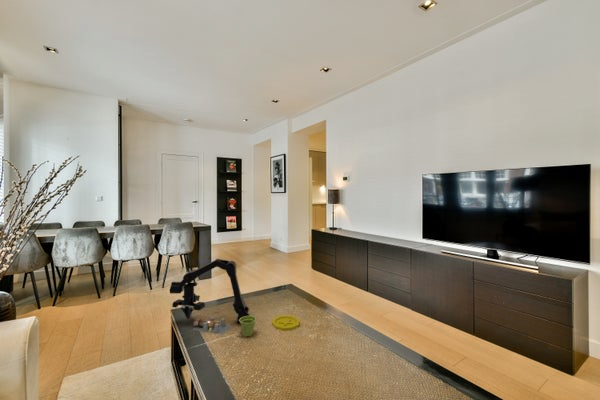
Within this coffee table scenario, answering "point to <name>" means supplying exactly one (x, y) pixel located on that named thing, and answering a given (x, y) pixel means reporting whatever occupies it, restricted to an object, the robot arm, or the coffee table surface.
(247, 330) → the plant pot
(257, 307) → the coffee table surface
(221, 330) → the board
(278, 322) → the decorative disc
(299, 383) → the coffee table surface
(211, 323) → the copper tube
